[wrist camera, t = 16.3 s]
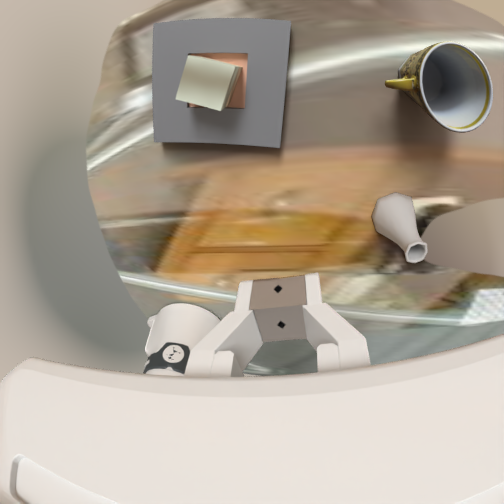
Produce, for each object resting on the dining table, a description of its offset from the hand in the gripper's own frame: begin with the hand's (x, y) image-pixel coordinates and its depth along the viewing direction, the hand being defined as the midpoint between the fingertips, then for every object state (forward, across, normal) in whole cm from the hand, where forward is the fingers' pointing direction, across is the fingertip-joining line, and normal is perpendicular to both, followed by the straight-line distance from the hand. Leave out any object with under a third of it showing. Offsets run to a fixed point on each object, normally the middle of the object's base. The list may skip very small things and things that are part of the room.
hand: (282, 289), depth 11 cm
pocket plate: (+29, +6, -8) cm, 31 cm away
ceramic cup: (+29, -18, -5) cm, 35 cm away
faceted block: (+28, +6, -8) cm, 30 cm away
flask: (+29, -15, +14) cm, 36 cm away
